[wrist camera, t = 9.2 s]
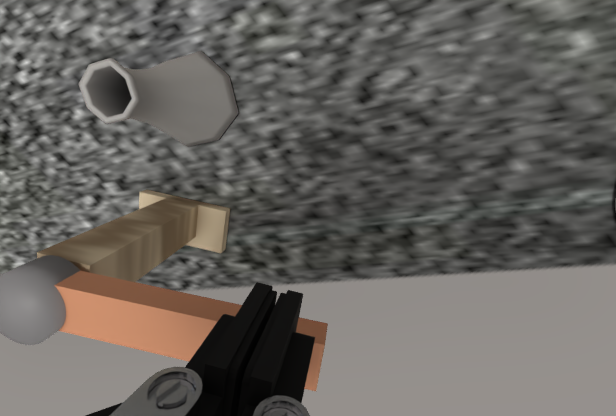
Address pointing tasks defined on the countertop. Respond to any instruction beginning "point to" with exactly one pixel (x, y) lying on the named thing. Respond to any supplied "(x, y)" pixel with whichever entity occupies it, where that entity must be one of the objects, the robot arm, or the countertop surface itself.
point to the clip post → (146, 236)
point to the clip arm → (117, 312)
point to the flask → (164, 96)
